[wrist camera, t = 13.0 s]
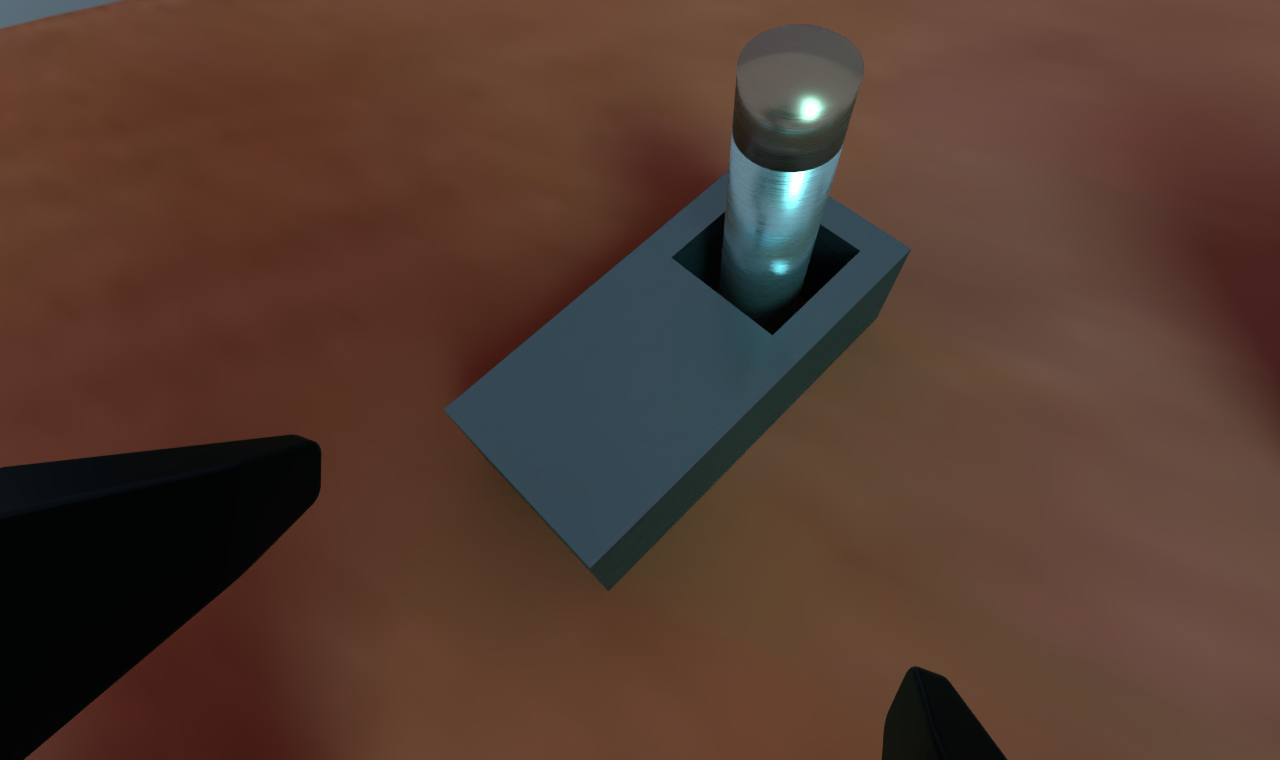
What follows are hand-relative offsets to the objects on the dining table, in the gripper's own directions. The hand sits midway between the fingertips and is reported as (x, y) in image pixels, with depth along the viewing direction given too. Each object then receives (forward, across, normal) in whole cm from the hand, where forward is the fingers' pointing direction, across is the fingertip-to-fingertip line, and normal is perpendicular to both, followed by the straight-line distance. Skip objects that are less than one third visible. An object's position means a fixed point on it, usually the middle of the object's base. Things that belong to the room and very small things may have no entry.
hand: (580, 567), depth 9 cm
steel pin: (+19, 0, 0) cm, 19 cm away
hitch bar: (+16, +2, +3) cm, 17 cm away
